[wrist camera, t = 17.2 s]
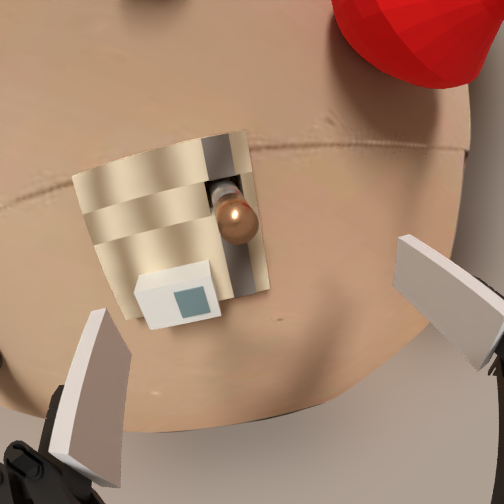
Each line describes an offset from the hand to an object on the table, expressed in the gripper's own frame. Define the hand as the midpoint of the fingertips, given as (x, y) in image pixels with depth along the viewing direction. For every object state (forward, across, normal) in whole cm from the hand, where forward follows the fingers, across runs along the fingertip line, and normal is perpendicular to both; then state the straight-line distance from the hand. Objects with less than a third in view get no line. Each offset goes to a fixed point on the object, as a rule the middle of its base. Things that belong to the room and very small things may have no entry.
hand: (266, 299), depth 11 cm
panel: (+21, -6, -3) cm, 22 cm away
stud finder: (+18, -7, -9) cm, 21 cm away
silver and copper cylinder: (+21, 0, 0) cm, 21 cm away
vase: (+21, +22, +19) cm, 36 cm away
